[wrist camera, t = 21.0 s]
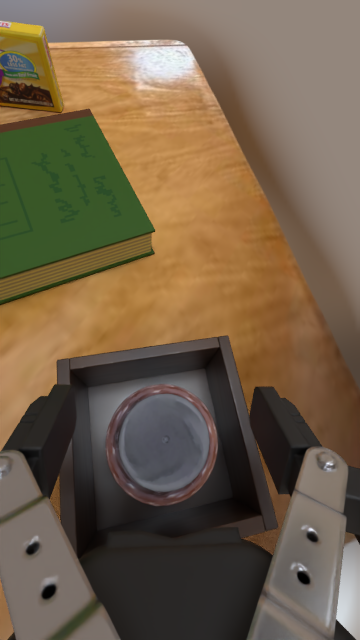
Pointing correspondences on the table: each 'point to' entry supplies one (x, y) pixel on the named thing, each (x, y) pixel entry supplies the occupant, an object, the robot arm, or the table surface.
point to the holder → (91, 461)
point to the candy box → (27, 69)
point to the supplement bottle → (161, 445)
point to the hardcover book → (63, 205)
